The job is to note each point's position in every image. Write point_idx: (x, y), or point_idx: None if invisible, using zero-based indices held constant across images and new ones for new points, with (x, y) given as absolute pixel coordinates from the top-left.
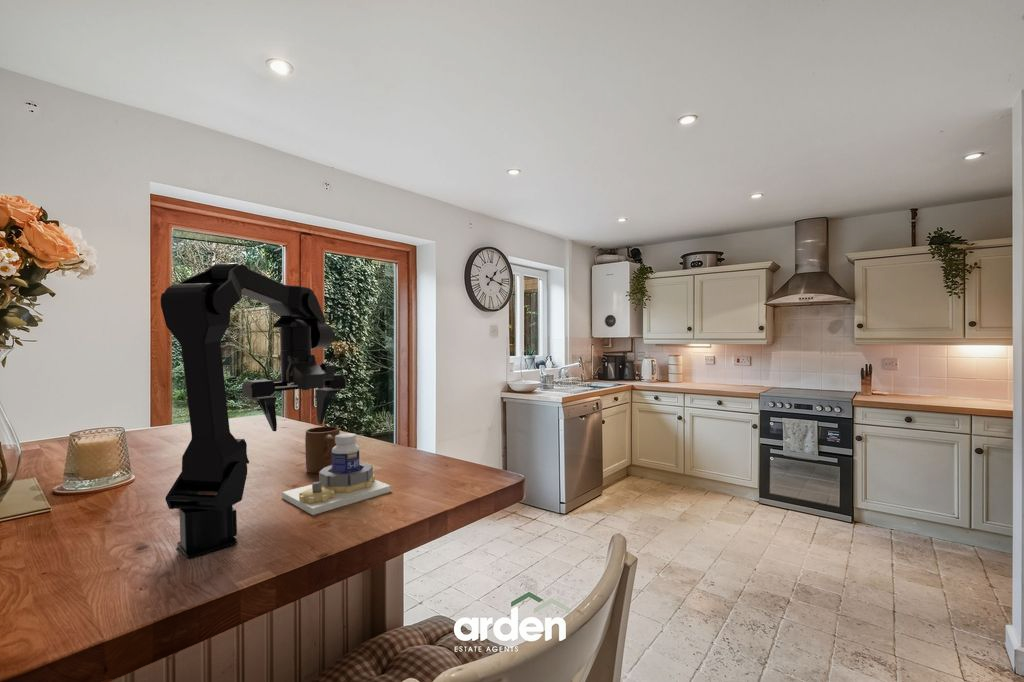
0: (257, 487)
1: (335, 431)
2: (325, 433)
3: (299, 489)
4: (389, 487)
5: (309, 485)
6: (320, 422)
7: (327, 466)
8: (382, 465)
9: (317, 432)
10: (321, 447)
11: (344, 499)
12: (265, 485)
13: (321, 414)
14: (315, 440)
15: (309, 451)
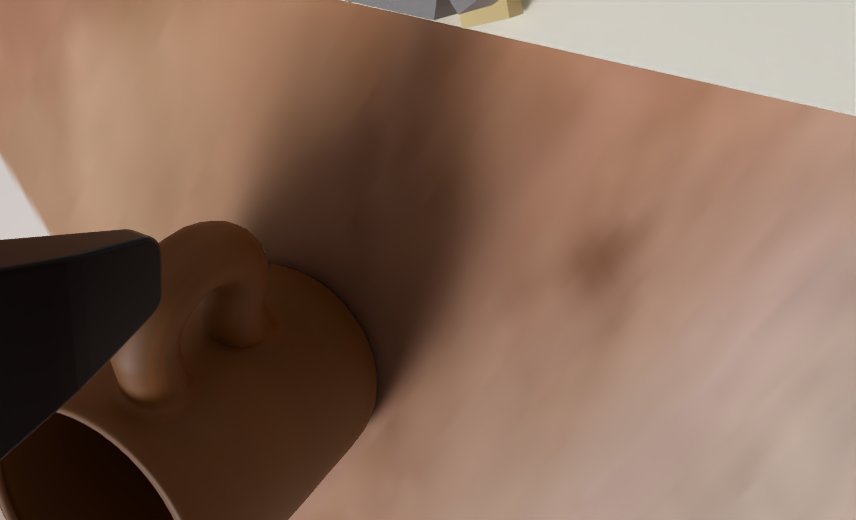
0: (746, 478)
1: None
2: (120, 425)
3: (741, 38)
4: None
5: (625, 53)
6: (140, 247)
7: (434, 8)
8: (48, 67)
9: None
10: (232, 382)
11: None
12: (689, 459)
13: (15, 267)
14: (221, 457)
15: (302, 453)
